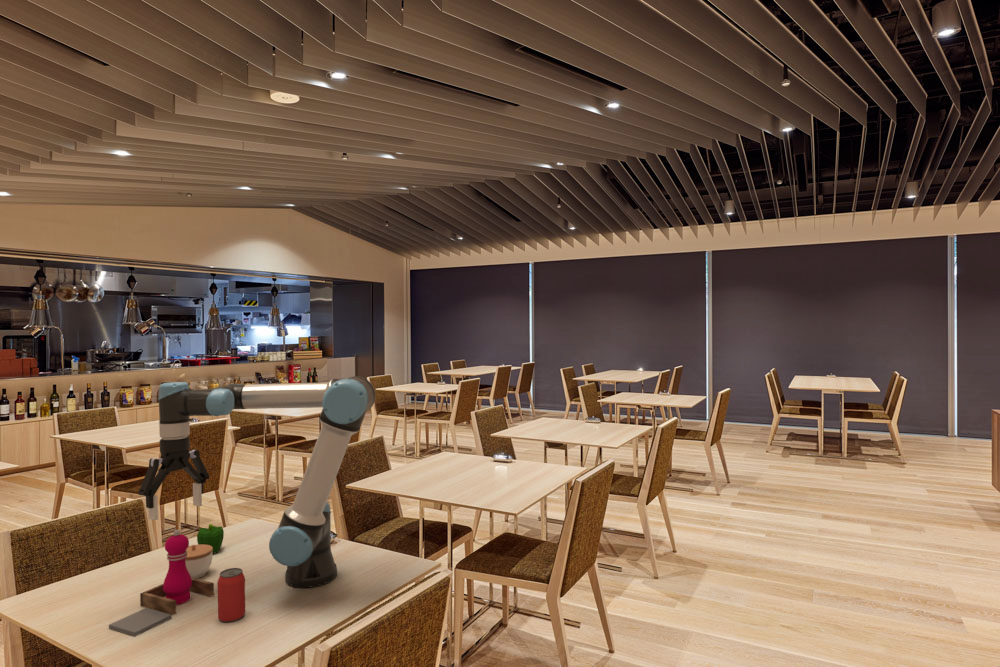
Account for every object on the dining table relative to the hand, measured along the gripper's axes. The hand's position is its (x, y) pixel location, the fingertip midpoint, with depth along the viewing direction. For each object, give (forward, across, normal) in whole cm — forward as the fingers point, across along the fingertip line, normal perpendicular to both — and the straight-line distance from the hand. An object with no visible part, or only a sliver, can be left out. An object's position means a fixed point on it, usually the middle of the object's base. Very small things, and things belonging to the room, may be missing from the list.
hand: (176, 512), depth 170 cm
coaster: (+25, +14, +4) cm, 28 cm away
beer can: (+25, +1, +23) cm, 34 cm away
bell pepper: (+25, -29, -23) cm, 44 cm away
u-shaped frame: (+25, +1, +1) cm, 25 cm away
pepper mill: (+25, +1, +1) cm, 25 cm away
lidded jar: (+25, -13, -10) cm, 30 cm away
